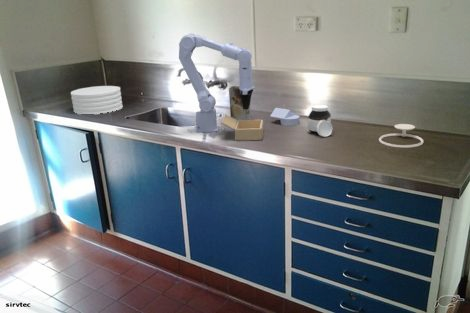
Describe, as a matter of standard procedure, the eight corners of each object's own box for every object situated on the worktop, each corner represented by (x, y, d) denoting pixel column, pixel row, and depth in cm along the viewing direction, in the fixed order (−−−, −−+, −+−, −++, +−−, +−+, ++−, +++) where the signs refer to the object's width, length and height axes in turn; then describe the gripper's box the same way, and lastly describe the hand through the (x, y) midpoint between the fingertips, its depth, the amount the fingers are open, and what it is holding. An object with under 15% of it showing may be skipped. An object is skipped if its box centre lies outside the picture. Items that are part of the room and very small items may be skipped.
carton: (235, 140, 186) (234, 129, 185) (238, 130, 201) (238, 120, 200) (261, 140, 185) (261, 129, 184) (263, 130, 200) (263, 119, 198)
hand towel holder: (375, 135, 171) (385, 122, 188) (374, 146, 172) (384, 132, 189) (421, 139, 163) (427, 125, 180) (420, 150, 164) (427, 135, 181)
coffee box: (251, 117, 223) (250, 86, 218) (247, 120, 218) (245, 88, 212) (234, 116, 227) (233, 85, 221) (230, 119, 221) (228, 88, 216)
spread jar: (318, 128, 198) (319, 103, 195) (340, 132, 191) (341, 106, 187) (302, 134, 191) (302, 108, 187) (324, 139, 183) (325, 112, 179)
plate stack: (63, 112, 256) (60, 93, 252) (100, 102, 278) (97, 84, 274) (96, 116, 242) (93, 96, 238) (132, 106, 264) (130, 87, 260)
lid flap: (234, 128, 186) (233, 129, 186) (237, 120, 199) (236, 121, 199) (221, 122, 185) (221, 123, 185) (225, 114, 198) (225, 115, 199)
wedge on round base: (270, 123, 211) (292, 127, 203) (269, 109, 209) (292, 112, 201) (281, 119, 217) (303, 122, 209) (281, 105, 215) (303, 109, 207)
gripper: (253, 79, 188) (254, 110, 192) (255, 74, 201) (256, 103, 206) (237, 80, 188) (238, 111, 193) (240, 74, 202) (241, 103, 206)
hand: (246, 107), depth 199 cm, fingers open, 7 cm apart
